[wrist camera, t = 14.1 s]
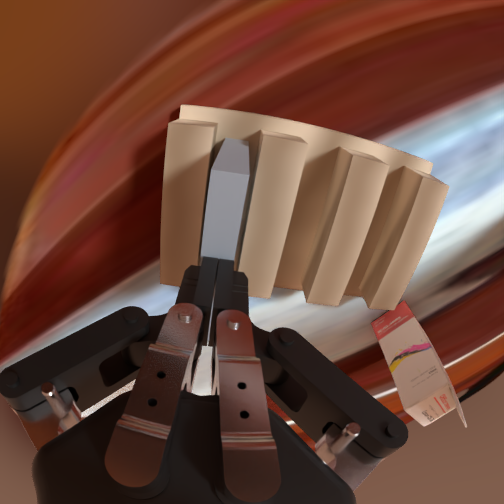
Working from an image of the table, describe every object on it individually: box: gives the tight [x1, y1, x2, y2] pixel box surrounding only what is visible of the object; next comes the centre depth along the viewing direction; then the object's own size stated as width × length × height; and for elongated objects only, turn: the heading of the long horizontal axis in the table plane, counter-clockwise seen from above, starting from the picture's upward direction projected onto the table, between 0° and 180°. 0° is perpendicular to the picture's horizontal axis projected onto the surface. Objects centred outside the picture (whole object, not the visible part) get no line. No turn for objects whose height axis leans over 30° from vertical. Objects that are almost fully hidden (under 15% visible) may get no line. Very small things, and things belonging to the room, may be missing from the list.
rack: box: [160, 105, 449, 310], centre depth 22 cm, size 20×14×4 cm
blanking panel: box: [200, 138, 250, 341], centre depth 18 cm, size 2×10×9 cm, turn 170°
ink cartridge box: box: [371, 301, 467, 427], centre depth 25 cm, size 9×5×15 cm, turn 43°
